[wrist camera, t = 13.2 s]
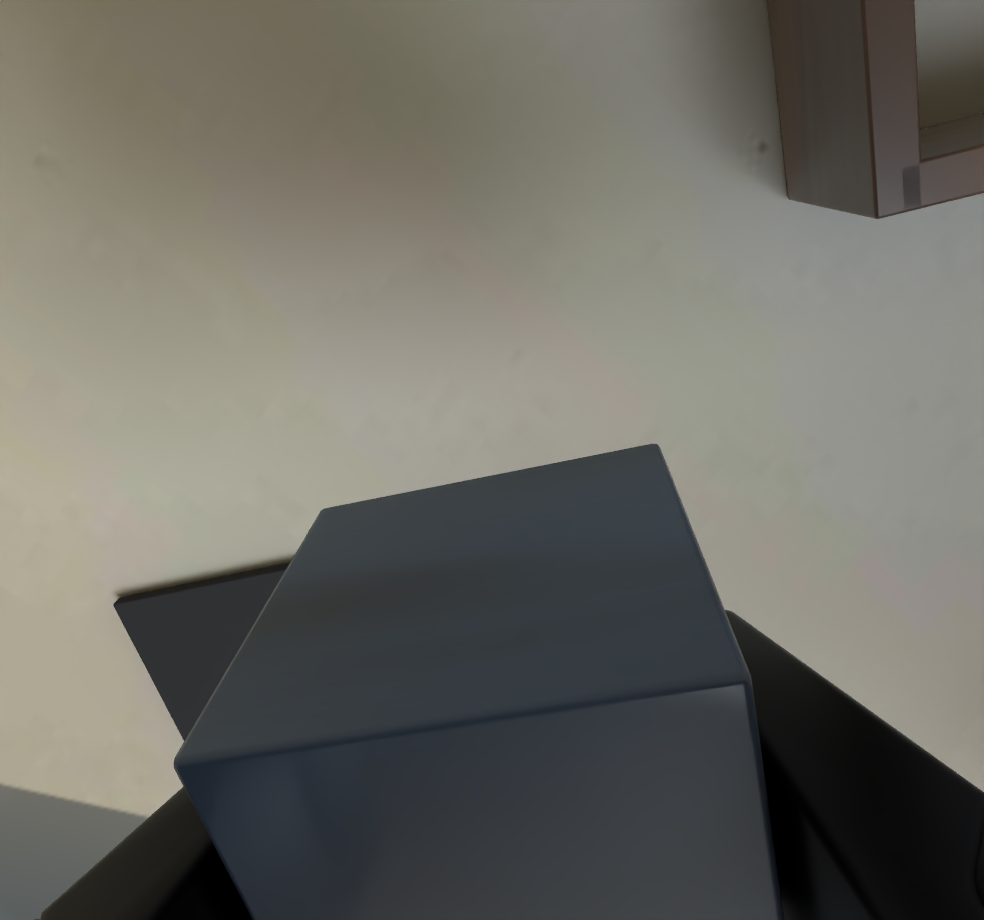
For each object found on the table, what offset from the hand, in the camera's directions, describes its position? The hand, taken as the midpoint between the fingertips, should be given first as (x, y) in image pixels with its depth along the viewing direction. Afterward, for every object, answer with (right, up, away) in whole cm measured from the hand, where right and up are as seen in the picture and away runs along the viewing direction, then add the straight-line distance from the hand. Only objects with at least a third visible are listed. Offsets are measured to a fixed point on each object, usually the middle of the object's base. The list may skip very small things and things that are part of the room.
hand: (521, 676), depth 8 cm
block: (0, 0, +1) cm, 1 cm away
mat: (-8, -4, +15) cm, 18 cm away
